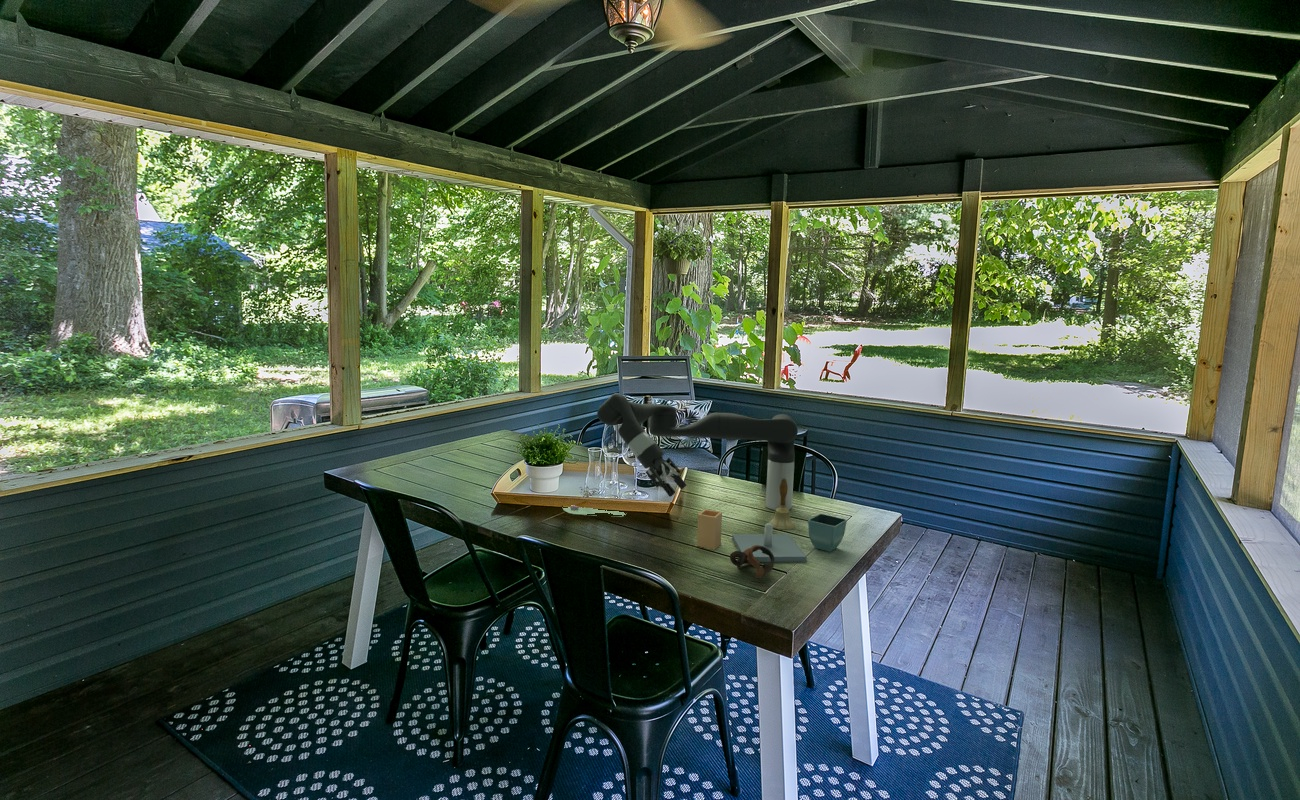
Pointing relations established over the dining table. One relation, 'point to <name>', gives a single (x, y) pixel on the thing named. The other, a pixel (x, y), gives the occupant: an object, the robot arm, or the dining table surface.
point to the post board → (771, 546)
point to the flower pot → (826, 531)
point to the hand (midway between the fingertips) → (678, 491)
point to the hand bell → (782, 511)
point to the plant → (585, 511)
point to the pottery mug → (753, 560)
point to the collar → (709, 529)
